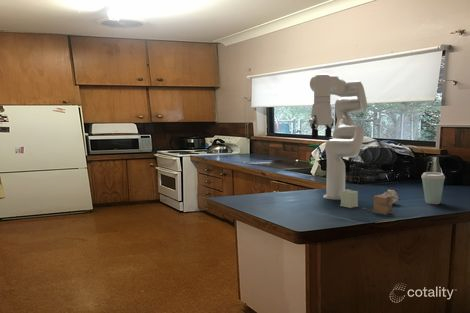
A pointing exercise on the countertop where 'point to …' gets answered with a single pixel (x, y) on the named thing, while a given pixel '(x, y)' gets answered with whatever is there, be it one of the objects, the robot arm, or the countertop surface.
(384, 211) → the walnut block
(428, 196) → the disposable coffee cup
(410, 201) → the countertop surface
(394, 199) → the cream knobbly ball
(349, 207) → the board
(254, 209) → the countertop surface
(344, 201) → the sage block
